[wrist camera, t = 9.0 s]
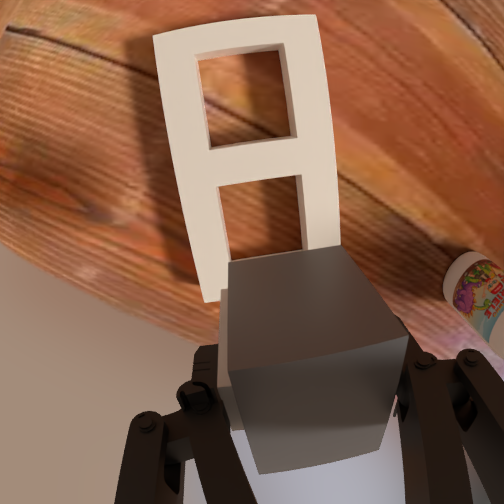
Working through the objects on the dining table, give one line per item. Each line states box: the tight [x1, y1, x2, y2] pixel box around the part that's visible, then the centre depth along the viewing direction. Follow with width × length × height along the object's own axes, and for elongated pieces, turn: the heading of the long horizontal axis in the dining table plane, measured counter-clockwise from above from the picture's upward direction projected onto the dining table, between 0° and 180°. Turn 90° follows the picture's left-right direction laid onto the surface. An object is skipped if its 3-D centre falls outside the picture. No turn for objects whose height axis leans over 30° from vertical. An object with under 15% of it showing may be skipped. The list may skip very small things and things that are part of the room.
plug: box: [227, 245, 409, 474], centre depth 13 cm, size 5×6×8 cm
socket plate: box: [153, 15, 341, 303], centre depth 26 cm, size 13×24×3 cm, turn 8°
